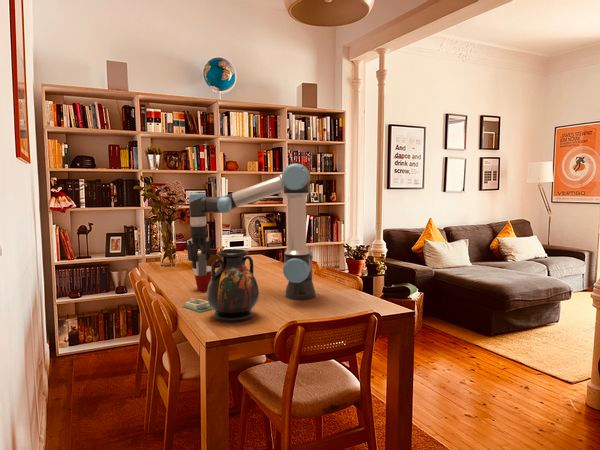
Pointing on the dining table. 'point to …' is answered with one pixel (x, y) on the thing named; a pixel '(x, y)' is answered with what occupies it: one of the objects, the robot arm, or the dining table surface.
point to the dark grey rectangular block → (201, 264)
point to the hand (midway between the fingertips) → (200, 274)
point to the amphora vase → (232, 287)
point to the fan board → (198, 305)
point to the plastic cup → (203, 280)
